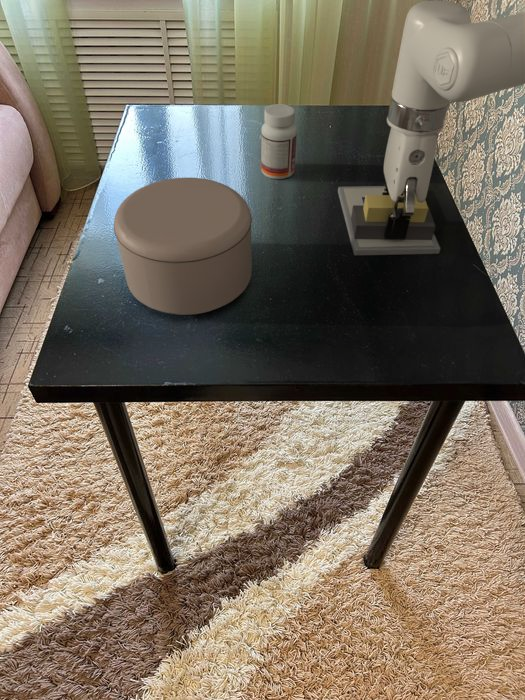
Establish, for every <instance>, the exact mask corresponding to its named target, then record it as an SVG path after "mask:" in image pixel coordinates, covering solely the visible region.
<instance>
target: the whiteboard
mask: <svg viewBox="0 0 525 700" xmlns="http://www.w3.org/2000/svg"><path fill="white" fill-rule="evenodd" d="M383 192H387V191H384V185H367V186H365V185H364V186H361V185H360V186H359V185H358V186H338V188H337V194H338V198H339V201H340V202H339V203H340V206H341V210H342V214H343V219H344V221H345V225H346V229H347V234H348V237H349V241H350V245H351V248H352V249H351V250H352V254H353V256H391V255H394V256H397V255H399V256H400V255H437V254H438V255H439V254H440V252H441V246H440V245H439V244H440V243H439V242H438V240H437V237H436V235H435V233H434V234H433V237H432V240H387V239H354V233H353V228H352V222H351V215H352V208H353V205H362V206H364V201H365V195H382V193H383ZM403 196H404V195H403ZM415 196H416V195H415Z"/></svg>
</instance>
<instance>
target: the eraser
mask: <svg viewBox="0 0 525 700" xmlns="http://www.w3.org/2000/svg"><path fill="white" fill-rule="evenodd" d="M398 197H404V196H402V195H400V196H398ZM427 203H428V202H427V201H426V200H425V201H424V202H422V203H420V202H418V201H417V198H416V196H415V207H414V214H413V215H412V216H411V219H410V222H409V226H408V230H407V234H406V238H405V239H404V240H432V237H433V234H434V235H435V230H436V224H435V221H434V218H433V215H432V213H431V209H430V207H429V206H428V204H427ZM392 204H393V200H392V199H391V197H390V195H365V201H364V206H362V205H353V208H352V215H351V222H352V228H353V233H354V239H385V237H384V234H385V229H386V225H387V220H388V216H389V215H391V211H392ZM403 206H404V203H398V207H397V210H398V209H399V208H402V207H403Z"/></svg>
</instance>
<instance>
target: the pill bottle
mask: <svg viewBox="0 0 525 700" xmlns="http://www.w3.org/2000/svg"><path fill="white" fill-rule="evenodd" d="M295 116H296V110H295V108H293V106H291V105H289V104H284V103H274V104H270V105H268V106H266V107H265V108H264V119H263V120H264V123H263V124H262V125H261V131H260V133H261V134H260V138H261V139H260V141H261V142H260V145H261V146H260V148H261V149H260V159H261V160H260V167H261V168H260V170H261V171H260V172H261V173H262V174H263V175H264V176H265V177H267V178H269V179H271V180H284V179H288V178H290V177H291V176H293V174H294V173H295V168H296V154H297V135H298V128H297V125H296V124H295V120H296V119H295V118H296V117H295Z"/></svg>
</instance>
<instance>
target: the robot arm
mask: <svg viewBox="0 0 525 700" xmlns="http://www.w3.org/2000/svg"><path fill="white" fill-rule="evenodd" d="M471 20H472V19H471V14H470V11H469V10H468V9H467V8H466V7H465V6H463V5H461V4H459V3H457V2H453V1H449V0H425V1H420V2H418V3H415V4H414V5H413V6H411V7H410V9H409V10H408V12H407V14H406V17H405V20H404V26H403V30H402V36H401V41H400V47H399V52H398V58H397V63H396V67H395V68H396V69H395V74H394V79H393V83H392V90H391V95H390V100H389V106H388V111H387V117H386V123H387V125H388V127H390V131H389V135H388V139H387V144H386V149H385V154H384V161H383V175H384V179H385V180H384V184H383V186H384V191H387V192H383V193H382V195H390V197H391V199H392V200H393V204H392V211H391V215H389V216H388V220H387V225H386V229H385V234H384V237H385V239H387V240H404V239H405V238H406V234H407V230H408V226H409V222H410V219H411V216H412V215H413V214H414V207H415V195H416V198H417V201H418V202H420V203H422V202H424V201H426V199H427V196H428V191H429V186H430V181H431V177H432V173H433V167H434V164H435V163H434V162H435V158H436V151H437V144H438V133H440V132H441V131H442V130H443V129H444V125H445V122H446V118H447V114H448V111H449V106H450V103H451V102H453V103H464V102H469V101H472V100H476V99H479V98H482V97H485V96H489V95H492V94H495V93H498V92H502V91H505V90H509V89H513V88H516V87H520V86H522V85H525V7H523V8H522V9H521V10H519V11H518V12H517V13H515V14H510V15H504V16H501V17H496V18H492V19H487V20H482V21H477V22H472V21H471ZM400 195H402V196H403V195H404V197H398V196H400ZM398 203H404V206H403V207H402V208H399V209H398V210H397V207H398Z"/></svg>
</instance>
